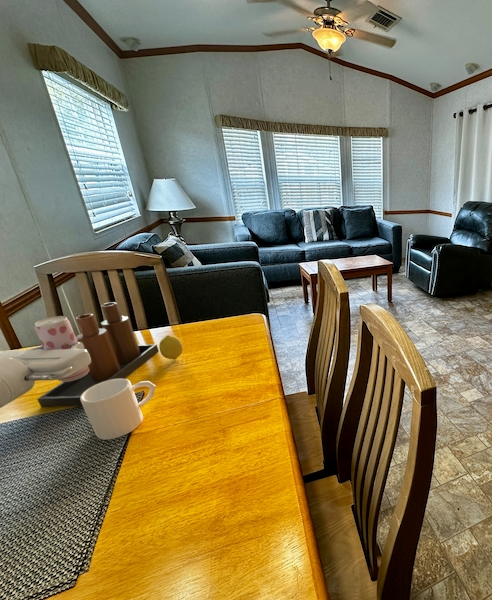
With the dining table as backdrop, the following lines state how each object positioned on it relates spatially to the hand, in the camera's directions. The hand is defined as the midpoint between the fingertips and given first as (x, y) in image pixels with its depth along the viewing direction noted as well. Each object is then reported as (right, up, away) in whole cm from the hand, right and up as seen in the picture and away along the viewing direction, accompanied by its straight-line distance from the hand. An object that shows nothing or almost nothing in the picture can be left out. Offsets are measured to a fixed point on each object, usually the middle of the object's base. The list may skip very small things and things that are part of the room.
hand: (65, 345), depth 78 cm
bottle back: (-1, -7, +19) cm, 20 cm away
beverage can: (0, -8, +2) cm, 8 cm away
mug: (+20, -17, -5) cm, 26 cm away
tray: (0, -10, +12) cm, 15 cm away
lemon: (+13, -7, +19) cm, 24 cm away
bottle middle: (0, -10, +12) cm, 15 cm away
